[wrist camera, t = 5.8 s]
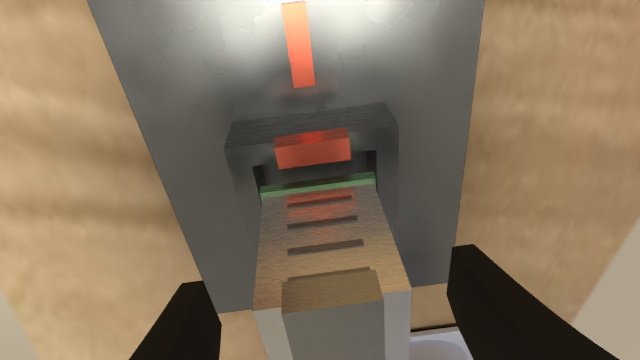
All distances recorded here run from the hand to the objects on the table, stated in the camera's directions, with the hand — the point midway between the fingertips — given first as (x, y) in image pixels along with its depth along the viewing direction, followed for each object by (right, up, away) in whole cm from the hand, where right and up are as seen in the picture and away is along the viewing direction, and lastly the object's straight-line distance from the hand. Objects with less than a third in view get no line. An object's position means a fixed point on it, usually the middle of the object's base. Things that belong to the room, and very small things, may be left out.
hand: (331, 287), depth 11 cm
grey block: (0, +2, +3) cm, 4 cm away
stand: (0, +4, +6) cm, 7 cm away
